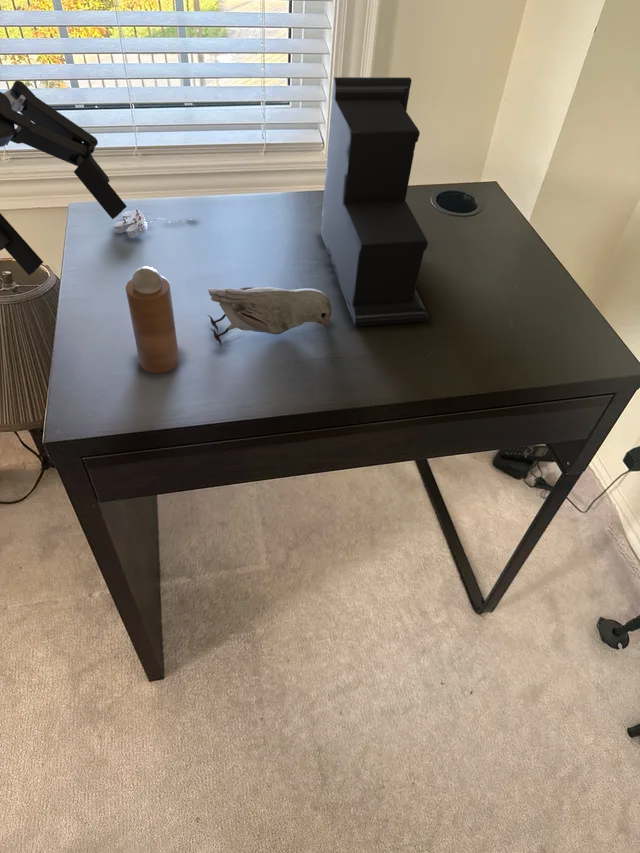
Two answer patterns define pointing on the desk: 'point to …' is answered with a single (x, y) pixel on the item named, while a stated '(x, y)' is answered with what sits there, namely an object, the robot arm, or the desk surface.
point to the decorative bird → (270, 308)
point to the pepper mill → (153, 320)
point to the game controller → (132, 224)
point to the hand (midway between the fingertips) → (80, 239)
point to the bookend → (373, 201)
